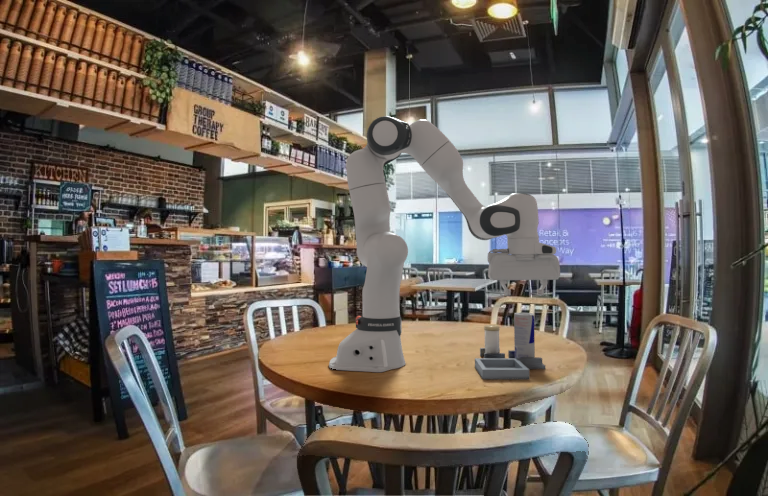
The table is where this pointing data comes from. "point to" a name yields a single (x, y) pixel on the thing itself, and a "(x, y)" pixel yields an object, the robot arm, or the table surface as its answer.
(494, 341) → the cylinder
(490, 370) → the tray
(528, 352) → the beverage can
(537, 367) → the grey stepped base
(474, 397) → the table surface
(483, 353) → the clip
